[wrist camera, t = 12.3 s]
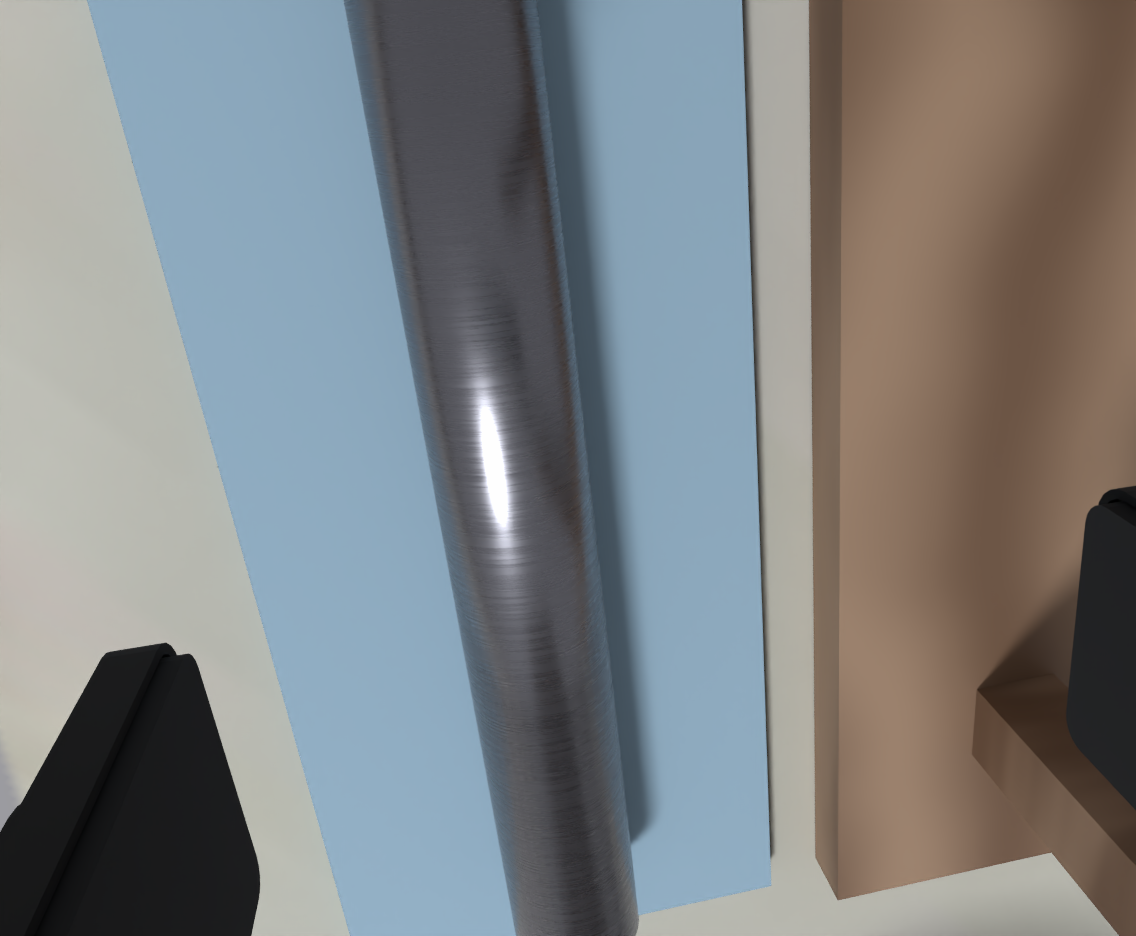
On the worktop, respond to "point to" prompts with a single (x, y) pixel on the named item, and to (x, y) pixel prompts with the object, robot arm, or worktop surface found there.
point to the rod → (504, 434)
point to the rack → (966, 427)
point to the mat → (396, 442)
